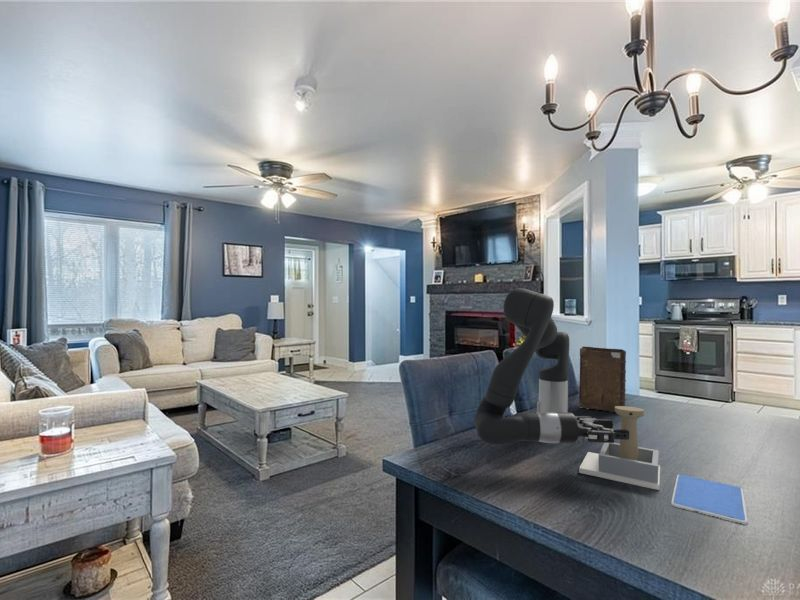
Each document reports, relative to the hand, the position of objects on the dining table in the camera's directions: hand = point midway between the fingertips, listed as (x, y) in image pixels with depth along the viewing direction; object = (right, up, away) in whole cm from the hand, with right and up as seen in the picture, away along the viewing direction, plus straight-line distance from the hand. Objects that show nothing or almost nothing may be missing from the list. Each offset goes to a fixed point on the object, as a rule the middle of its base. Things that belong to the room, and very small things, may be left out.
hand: (620, 429), depth 103 cm
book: (+26, -12, +62) cm, 68 cm away
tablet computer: (+13, -12, -13) cm, 22 cm away
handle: (+2, -10, 0) cm, 10 cm away
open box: (+1, -11, +1) cm, 11 cm away
